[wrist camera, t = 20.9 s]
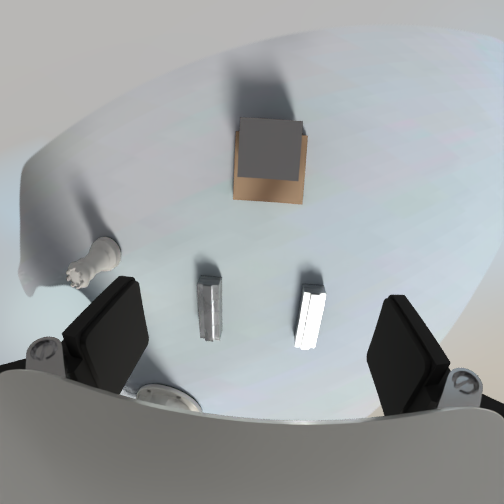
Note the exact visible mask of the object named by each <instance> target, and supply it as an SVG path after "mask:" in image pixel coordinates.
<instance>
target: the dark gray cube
mask: <svg viewBox="0 0 504 504" xmlns="http://www.w3.org/2000/svg"><path fill="white" fill-rule="evenodd" d="M302 128H303V121H293V120H281V119H267V118H246V117H240V131H239V151H238V173H237V177H246V178H262V179H276V180H288V181H299V169H300V156H301V143H302Z"/></svg>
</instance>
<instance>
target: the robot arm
mask: <svg viewBox="0 0 504 504" xmlns="http://www.w3.org/2000/svg"><path fill="white" fill-rule="evenodd" d="M62 335H63V338H64V340H63V341H62V342H60V340H59V339H57V338H55V337H43V338H40V339H38V340H36V341H34V342H33V343H32V344H31V345H30V346H29V348H28V350H27V353H26V359H22V360H18V361H15V362H11V363H8V364H3V365H0V504H504V404H503V403H501V402H499V401H496V400H494V399H492V398H490V397H488V396H486V395H484V394H482V391H483V384H482V382H481V380H480V378H479V377H478V375H476V374H475V373H474V372H473V371H471V370H469V369H465V368H456V369H453V370H452V371H450V369H449V365H450V361H449V359H448V358H447V356H446V355H445V353H444V351H443V350H442V348H441V347H440V345H439V344H438V342H437V341H436V339H435V338H434V336H433V335H432V333H431V332H430V330H429V329H428V327H427V326H426V324H425V323H424V321H423V320H422V319H421V317H420V316H419V314H418V313H417V311H416V310H415V309H414V307H413V306H412V305H411V303H410V302H409V300H408V299H407V298H406V296H405V295H390V296H389V297H388V298H386V299H385V300H384V302H383V305H382V309H381V312H380V315H379V319H378V322H377V325H376V328H375V331H374V335H373V338H372V341H371V343H370V346H369V349H368V352H367V363H368V366H369V369H370V372H371V375H372V378H373V381H374V384H375V387H376V390H377V393H378V396H379V399H380V403H381V406H382V409H383V412H384V416H382V417H371V418H359V419H344V420H270V419H255V418H243V417H233V416H224V415H216V414H209V413H202V410H201V407H200V406H199V405H198V403H197V402H196V401H195V400H194V399H192V398H191V397H190V396H188V395H187V394H185V393H183V392H181V391H179V390H177V389H174V388H172V387H169V386H165V385H159V384H149V385H145V386H142V387H141V388H140V389H139V391H138V393H137V395H136V399H134V398H130V397H126V396H122V395H119V394H120V393H121V391H122V389H123V387H124V385H125V384H126V382H127V380H128V378H129V377H130V375H131V373H132V371H133V369H134V368H135V366H136V364H137V362H138V361H139V359H140V357H141V355H142V354H143V352H144V350H145V349H146V347H147V345H148V341H149V336H148V331H147V326H146V321H145V316H144V310H143V305H142V299H141V293H140V287H139V283H138V282H137V281H135V279H134V278H133V277H126V276H119V277H118V278H117V279H116V280H115V281H113V282H112V283H111V284H110V285H109V286H108V287H107V288H106V289H105V290H104V291H103V292H102V293H101V294H100V295H99V296H98V297H97V298H96V299H95V300H94V301H93V302H92V303H91V304H90V305H89V306H88V307H87V308H86V309H85V310H84V311H83V312H82V313H81V314H80V315H79V316H78V317H77V318H76V319H75V320H74V321H73V322H72V323H71V324H70V325H69V326H68V327H67V328H66V329H65V331H64V332H63V333H62Z"/></svg>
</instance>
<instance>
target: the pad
mask: <svg viewBox="0 0 504 504" xmlns="http://www.w3.org/2000/svg"><path fill="white" fill-rule="evenodd" d="M307 138H308V136H305V135H302V143H301V156H300V169H299V181H288V180H276V179H262V178H246V177H237V173H238V151H239V131H236V140H235V164H234V191H233V199H234V200H250V201H265V202H278V203H291V204H302V201H303V190H304V178H305V166H306V153H307Z"/></svg>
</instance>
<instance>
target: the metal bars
mask: <svg viewBox="0 0 504 504" xmlns="http://www.w3.org/2000/svg"><path fill="white" fill-rule="evenodd" d="M197 293H198V311H199V327H200V338H205V341H213V340H220V337H221V333H222V277H213V276H202V275H201V277H200V279H199V281H198V282H197ZM325 298H326V291H325V288H324V285H312V284H303V287H302V294H301V300H300V307H299V313H298V319H297V325H296V331H295V336H294V339H295V347H301V349H307V350H309V348H314V347H315V343H316V339H317V335H318V330H319V326H320V321H321V317H322V312H323V307H324V302H325Z"/></svg>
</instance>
